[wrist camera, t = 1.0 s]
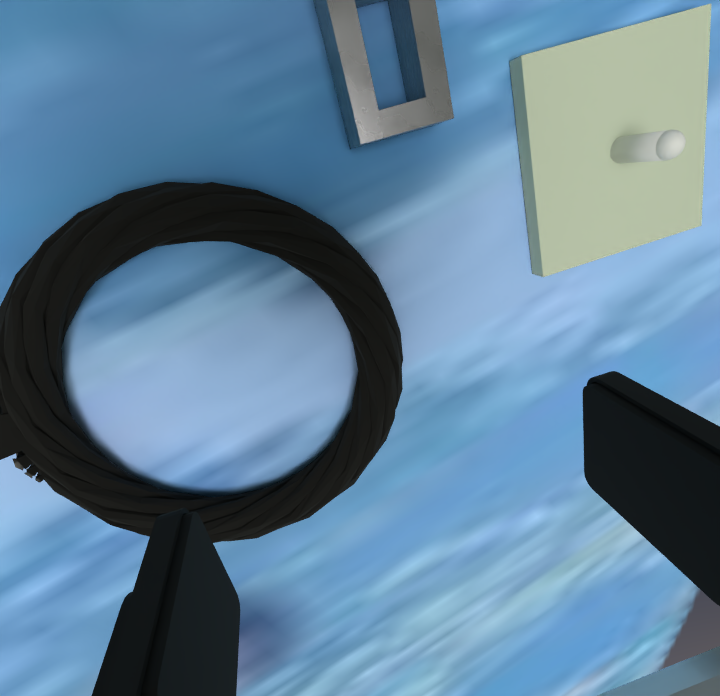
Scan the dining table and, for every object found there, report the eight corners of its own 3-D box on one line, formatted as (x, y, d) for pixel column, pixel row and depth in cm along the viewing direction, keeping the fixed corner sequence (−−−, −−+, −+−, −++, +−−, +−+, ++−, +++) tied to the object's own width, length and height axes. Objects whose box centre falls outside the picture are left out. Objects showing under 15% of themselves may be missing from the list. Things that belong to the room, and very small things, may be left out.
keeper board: (509, 61, 30) (570, 30, 24) (691, 11, 31) (791, -30, 25) (532, 273, 35) (585, 290, 29) (684, 224, 37) (765, 231, 31)
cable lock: (421, 508, 37) (38, 603, 33) (407, 480, 41) (60, 562, 36) (392, 153, 27) (-171, 221, 22) (377, 156, 30) (-112, 216, 26)
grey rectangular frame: (310, -13, 26) (316, -41, 23) (405, -36, 26) (424, -67, 23) (350, 149, 29) (361, 144, 26) (433, 125, 30) (453, 118, 27)
